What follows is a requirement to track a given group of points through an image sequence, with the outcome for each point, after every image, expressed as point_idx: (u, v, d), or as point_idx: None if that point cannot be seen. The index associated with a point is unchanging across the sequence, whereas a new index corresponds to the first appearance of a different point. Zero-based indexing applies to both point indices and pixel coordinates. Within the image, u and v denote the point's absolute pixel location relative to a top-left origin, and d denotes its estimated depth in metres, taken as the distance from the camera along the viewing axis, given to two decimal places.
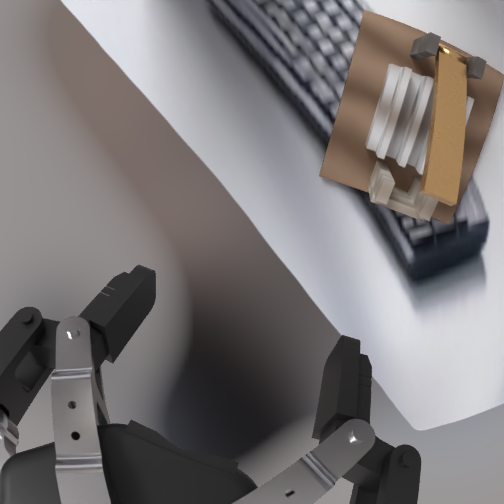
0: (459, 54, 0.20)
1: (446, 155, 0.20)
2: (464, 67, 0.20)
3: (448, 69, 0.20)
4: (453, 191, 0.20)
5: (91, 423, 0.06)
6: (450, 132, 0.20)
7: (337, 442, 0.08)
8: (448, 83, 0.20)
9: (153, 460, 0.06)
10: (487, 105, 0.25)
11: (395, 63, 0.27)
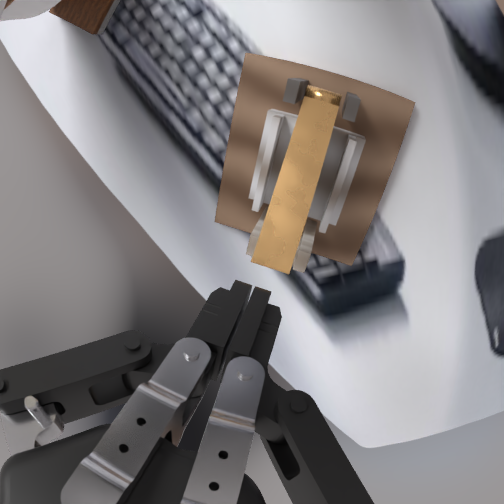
0: (331, 94, 0.23)
1: (283, 222, 0.24)
2: (335, 109, 0.24)
3: (310, 117, 0.24)
4: (286, 261, 0.24)
5: (146, 448, 0.06)
6: (293, 195, 0.24)
7: (231, 387, 0.09)
8: (306, 135, 0.24)
9: (153, 460, 0.06)
10: (391, 140, 0.29)
11: (278, 106, 0.30)
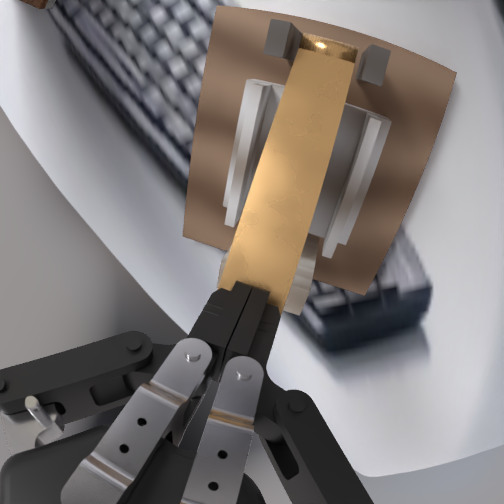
0: (341, 46, 0.13)
1: (262, 256, 0.14)
2: (349, 68, 0.14)
3: (309, 78, 0.14)
4: None
5: (147, 448, 0.06)
6: (281, 208, 0.14)
7: (230, 387, 0.09)
8: (302, 106, 0.14)
9: (153, 460, 0.06)
10: (425, 124, 0.19)
11: (263, 75, 0.20)
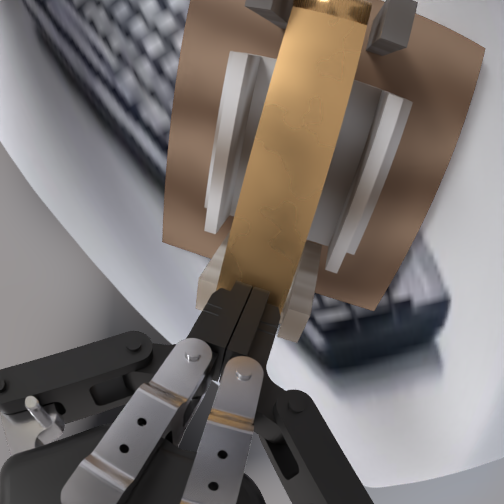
0: (349, 2, 0.09)
1: (257, 266, 0.13)
2: (360, 32, 0.09)
3: (307, 49, 0.10)
4: None
5: (147, 448, 0.06)
6: (275, 216, 0.12)
7: (230, 387, 0.09)
8: (298, 88, 0.11)
9: (153, 460, 0.06)
10: (450, 108, 0.14)
11: (252, 48, 0.16)
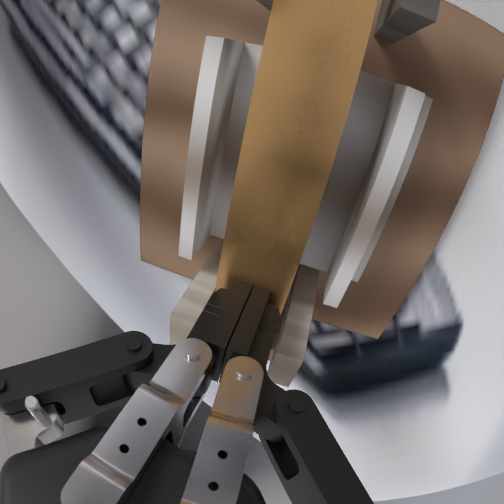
0: None
1: (253, 274, 0.13)
2: (368, 9, 0.07)
3: (300, 34, 0.08)
4: None
5: (147, 448, 0.06)
6: (269, 228, 0.11)
7: (230, 387, 0.09)
8: (290, 84, 0.09)
9: (153, 460, 0.06)
10: (474, 108, 0.11)
11: (236, 35, 0.13)
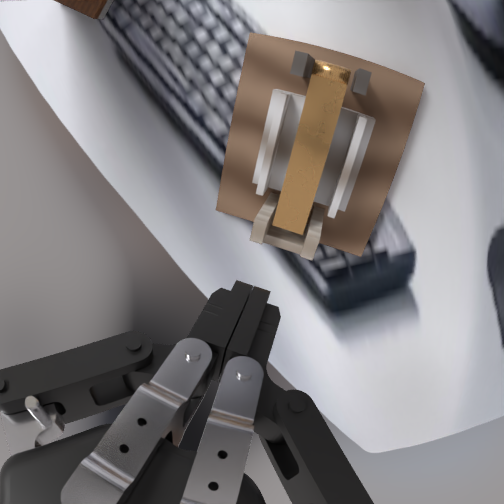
0: (339, 73, 0.21)
1: (296, 196, 0.28)
2: (343, 88, 0.22)
3: (318, 98, 0.23)
4: (300, 225, 0.29)
5: (147, 448, 0.06)
6: (304, 173, 0.27)
7: (229, 387, 0.09)
8: (314, 117, 0.24)
9: (153, 460, 0.06)
10: (401, 122, 0.27)
11: (284, 87, 0.28)
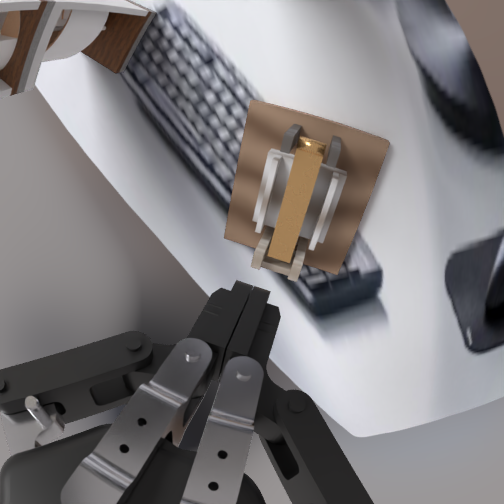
0: (316, 148, 0.32)
1: (284, 236, 0.39)
2: (320, 160, 0.33)
3: (301, 167, 0.34)
4: (287, 256, 0.40)
5: (147, 448, 0.06)
6: (290, 220, 0.37)
7: (230, 387, 0.09)
8: (298, 181, 0.35)
9: (153, 460, 0.06)
10: (369, 174, 0.37)
11: (277, 147, 0.39)
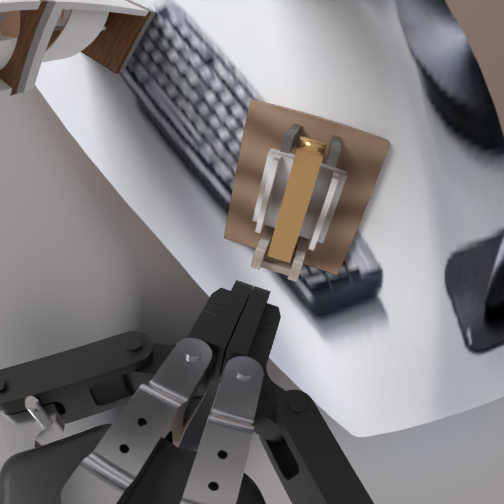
0: (316, 148, 0.32)
1: (284, 236, 0.39)
2: (320, 160, 0.33)
3: (301, 167, 0.34)
4: (287, 256, 0.40)
5: (147, 448, 0.06)
6: (290, 220, 0.37)
7: (230, 387, 0.09)
8: (298, 181, 0.35)
9: (153, 460, 0.06)
10: (369, 174, 0.37)
11: (277, 147, 0.39)
